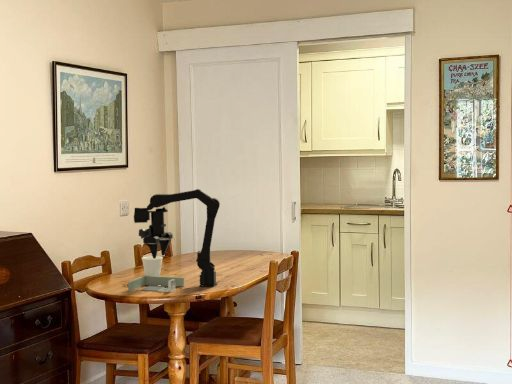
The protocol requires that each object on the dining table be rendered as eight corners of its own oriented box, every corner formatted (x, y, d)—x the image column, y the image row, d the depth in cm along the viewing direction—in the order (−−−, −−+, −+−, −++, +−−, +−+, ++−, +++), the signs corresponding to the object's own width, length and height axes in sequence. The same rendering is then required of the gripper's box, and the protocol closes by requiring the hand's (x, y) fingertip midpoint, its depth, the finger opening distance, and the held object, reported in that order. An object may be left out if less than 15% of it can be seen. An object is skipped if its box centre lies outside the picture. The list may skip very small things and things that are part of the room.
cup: (147, 283, 309) (147, 260, 309) (138, 280, 317) (137, 257, 317) (167, 281, 315) (166, 258, 315) (157, 278, 323) (156, 255, 323)
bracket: (175, 290, 294) (175, 279, 294) (171, 292, 289) (170, 281, 289) (162, 289, 296) (162, 278, 295) (158, 292, 291) (157, 280, 290)
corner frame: (184, 286, 303) (184, 277, 303) (170, 293, 288) (170, 284, 287) (143, 284, 308) (143, 275, 308) (128, 291, 293) (128, 281, 292)
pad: (167, 286, 302) (167, 285, 302) (157, 291, 292) (157, 290, 292) (150, 285, 305) (150, 285, 305) (140, 290, 294) (140, 289, 294)
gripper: (150, 220, 314) (151, 253, 315) (131, 224, 296) (133, 259, 297) (172, 220, 311) (173, 253, 311) (154, 224, 293) (156, 260, 294)
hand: (158, 256), depth 303 cm, fingers open, 9 cm apart
